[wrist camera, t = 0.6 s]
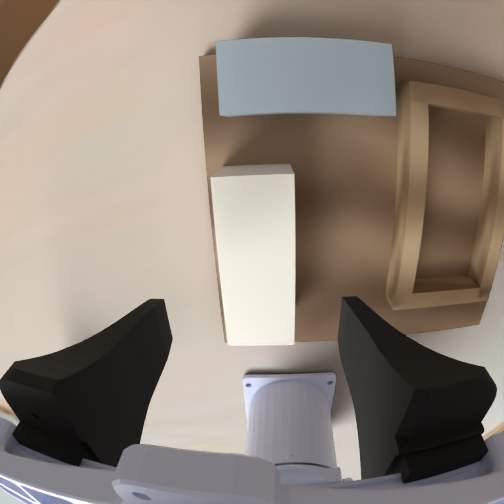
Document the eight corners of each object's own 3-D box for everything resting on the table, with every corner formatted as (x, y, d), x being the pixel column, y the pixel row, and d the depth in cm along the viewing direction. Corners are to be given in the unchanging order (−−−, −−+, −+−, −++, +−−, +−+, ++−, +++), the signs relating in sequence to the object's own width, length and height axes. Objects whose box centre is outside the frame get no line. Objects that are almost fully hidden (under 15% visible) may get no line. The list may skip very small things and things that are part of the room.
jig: (475, 319, 23) (489, 337, 20) (226, 336, 25) (221, 359, 22) (505, 84, 15) (528, 84, 13) (201, 58, 17) (191, 49, 14)
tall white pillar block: (291, 309, 22) (294, 344, 19) (234, 309, 23) (227, 345, 19) (289, 163, 18) (294, 173, 15) (222, 166, 19) (210, 177, 15)
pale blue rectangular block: (378, 116, 17) (396, 115, 14) (227, 116, 18) (219, 115, 15) (374, 54, 15) (391, 44, 13) (224, 53, 16) (215, 41, 13)
